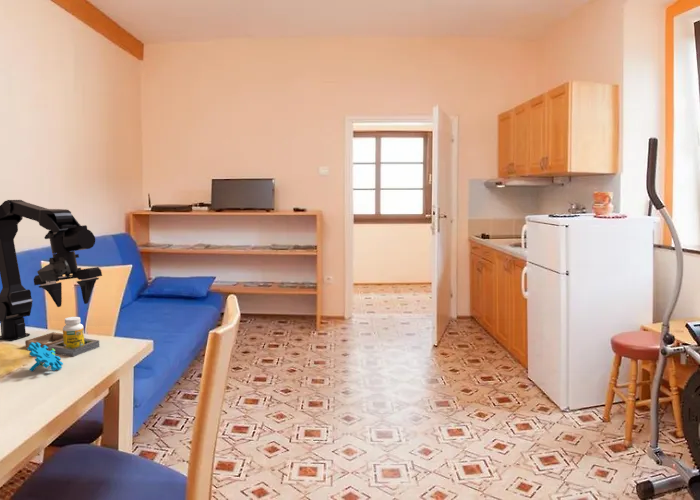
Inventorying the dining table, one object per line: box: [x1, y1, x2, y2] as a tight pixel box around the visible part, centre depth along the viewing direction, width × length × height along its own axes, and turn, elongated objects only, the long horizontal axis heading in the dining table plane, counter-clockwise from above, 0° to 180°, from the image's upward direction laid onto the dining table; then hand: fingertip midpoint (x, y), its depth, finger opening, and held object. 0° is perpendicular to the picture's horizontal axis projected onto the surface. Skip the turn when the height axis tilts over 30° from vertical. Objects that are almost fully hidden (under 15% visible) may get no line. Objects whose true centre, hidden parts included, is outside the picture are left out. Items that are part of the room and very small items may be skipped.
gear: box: [26, 342, 64, 372], centre depth 130 cm, size 11×6×10 cm
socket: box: [48, 337, 100, 358], centre depth 146 cm, size 9×9×2 cm
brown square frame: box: [24, 331, 63, 350], centre depth 150 cm, size 9×9×2 cm
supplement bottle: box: [62, 316, 85, 348], centre depth 146 cm, size 5×5×10 cm
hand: (72, 305), depth 145 cm, fingers open, 9 cm apart
